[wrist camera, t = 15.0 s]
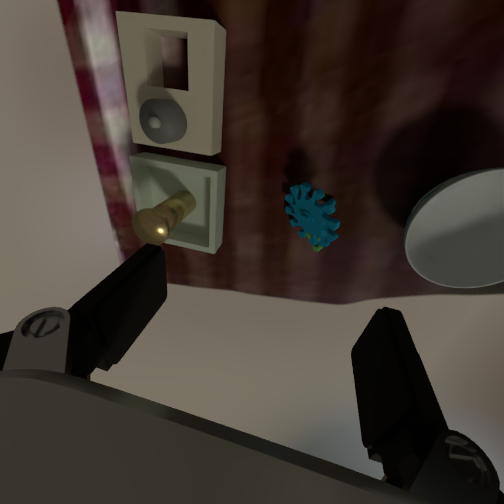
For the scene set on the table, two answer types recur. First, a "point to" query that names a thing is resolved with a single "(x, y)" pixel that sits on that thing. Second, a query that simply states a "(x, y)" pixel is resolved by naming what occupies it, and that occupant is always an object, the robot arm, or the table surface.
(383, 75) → the table surface
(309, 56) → the table surface
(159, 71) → the beige boxy piece
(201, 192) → the tray
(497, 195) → the chinaware
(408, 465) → the robot arm
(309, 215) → the teal lobed piece
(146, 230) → the pin
